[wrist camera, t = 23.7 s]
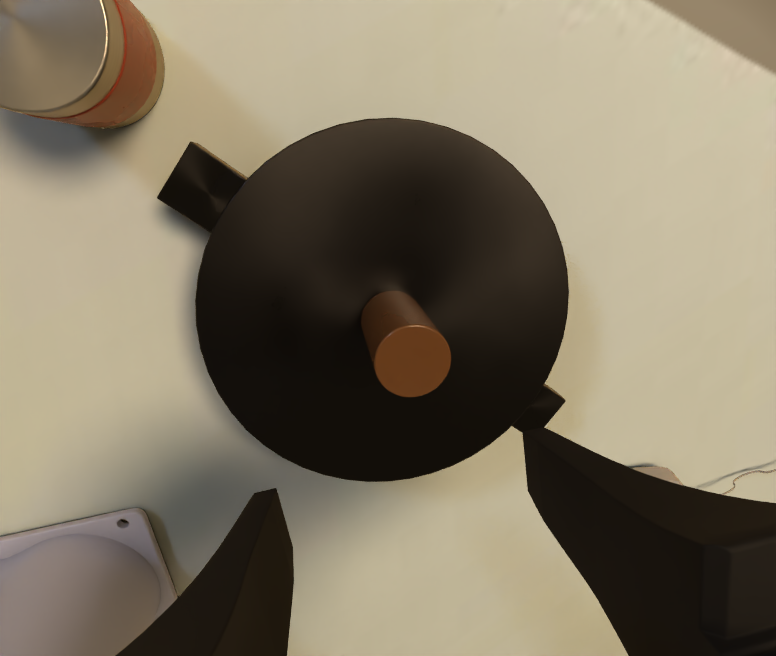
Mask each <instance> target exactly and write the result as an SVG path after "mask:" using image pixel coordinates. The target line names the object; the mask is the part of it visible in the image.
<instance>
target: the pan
mask: <svg viewBox="0 0 776 656" xmlns="http://www.w3.org/2000/svg"><path fill="white" fill-rule="evenodd" d="M247 179H248V178H247V177H246V176H244V175H243V174H241V173H240V172H238V171H237V170H236V169H234V168H233V167H231V166H230V165H228V164H227V163H225V162H224V161H223V160H221V159H220V158H218V157H217V156H215V155H214V154H212V153H211V152H210V151H208V150H207V149H205V148H204V147H202V146H201V145H199V144H198V143H194V142H190V143H189V145H188V147H187V148H186V150H185V152H184V153H183V155H182V157H181V158H180V160H179V162H178V163H177V165H176V167H175V168H174V170H173V172H172V173H171V175H170V177H169V178H168V180H167V182H166V183H165V185H164V187H163V188H162V190H161V192H160V193H159V195H158V197H157V198H158V199H159V200H161V201H162V202H164V203H165V204H167V205H168V206H170V207H171V208H173V209H175V210H176V211H178V212H179V213H181V214H182V215H184V216H185V217H187V218H189V219H190V220H192V221H193V222H195V223H196V224H198V225H199V226H201V227H203V228H204V229H206V230H207V231H209V232H210V233H212V230H213V228H214V226H215V224H216V222H217V220H218V219H219V217H220V215H221V214H222V212H223V210H224V209H225V207H226V205H227V203H228V202H229V201H230V199H231V198H232V197H233V196H234V194H235V193H236V192H237V191H238V189H239V188H240V187H241V186H242V184H243V183H244V182H245V181H246V180H247ZM564 403H565V399H564V398H563V397H562V396H561V395H559V394H558V393H557V392H556V391H555V390H553V389H552V388H550V387H549V386H547V385H546V384H544V385H543V386H542V388H541V390H540V391H539V393H538V394H537V396H536V398H535V399H534V400H533V402H532V403H531V404H530V405H529V407H528V408H527V409H526V411H525V412H524V413H523V414H522V415H521V416H520V418H519V419H518V420H517V421H516V422H515V423H514V424H513V425H512V426H513V427H514V428H516V429H518V430H519V431H521V432H522V433H523V431H528V430H532V429H536V428H541V427H545V426H546V424H547V423H548V422H549V421H550V419H551V418H552V417H553V416H554V415H555V413H556V412H557V411H558V410H559V409H560V407H561V406H562V405H563V404H564Z"/></svg>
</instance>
